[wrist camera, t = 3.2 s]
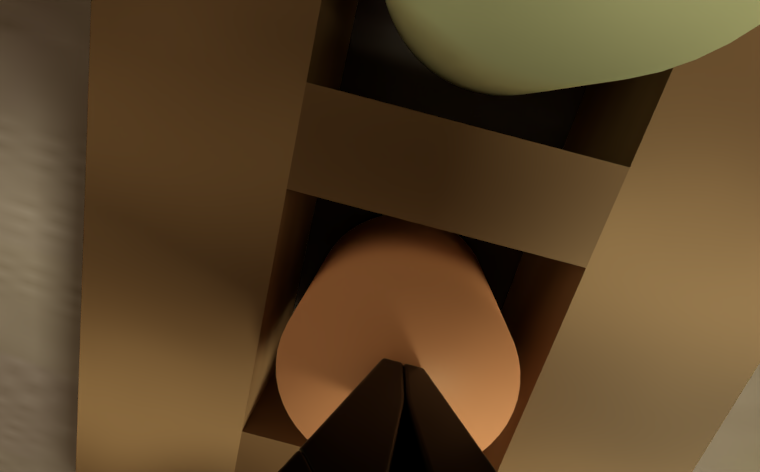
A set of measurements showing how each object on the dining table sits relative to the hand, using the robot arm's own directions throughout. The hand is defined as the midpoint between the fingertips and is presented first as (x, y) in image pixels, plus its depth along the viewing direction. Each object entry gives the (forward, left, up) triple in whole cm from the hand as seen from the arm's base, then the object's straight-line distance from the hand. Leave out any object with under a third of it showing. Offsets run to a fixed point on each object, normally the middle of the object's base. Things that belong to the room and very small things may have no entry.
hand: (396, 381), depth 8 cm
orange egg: (0, 0, -4) cm, 4 cm away
